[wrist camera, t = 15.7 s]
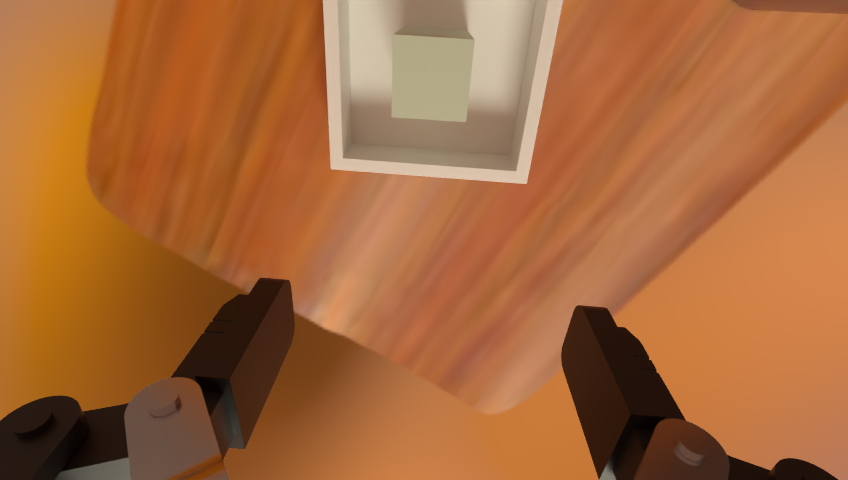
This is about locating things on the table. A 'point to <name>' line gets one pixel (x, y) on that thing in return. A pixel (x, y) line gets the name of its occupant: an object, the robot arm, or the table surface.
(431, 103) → the cream block
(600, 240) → the table surface
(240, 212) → the table surface
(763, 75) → the table surface
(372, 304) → the table surface
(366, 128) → the serving bin
